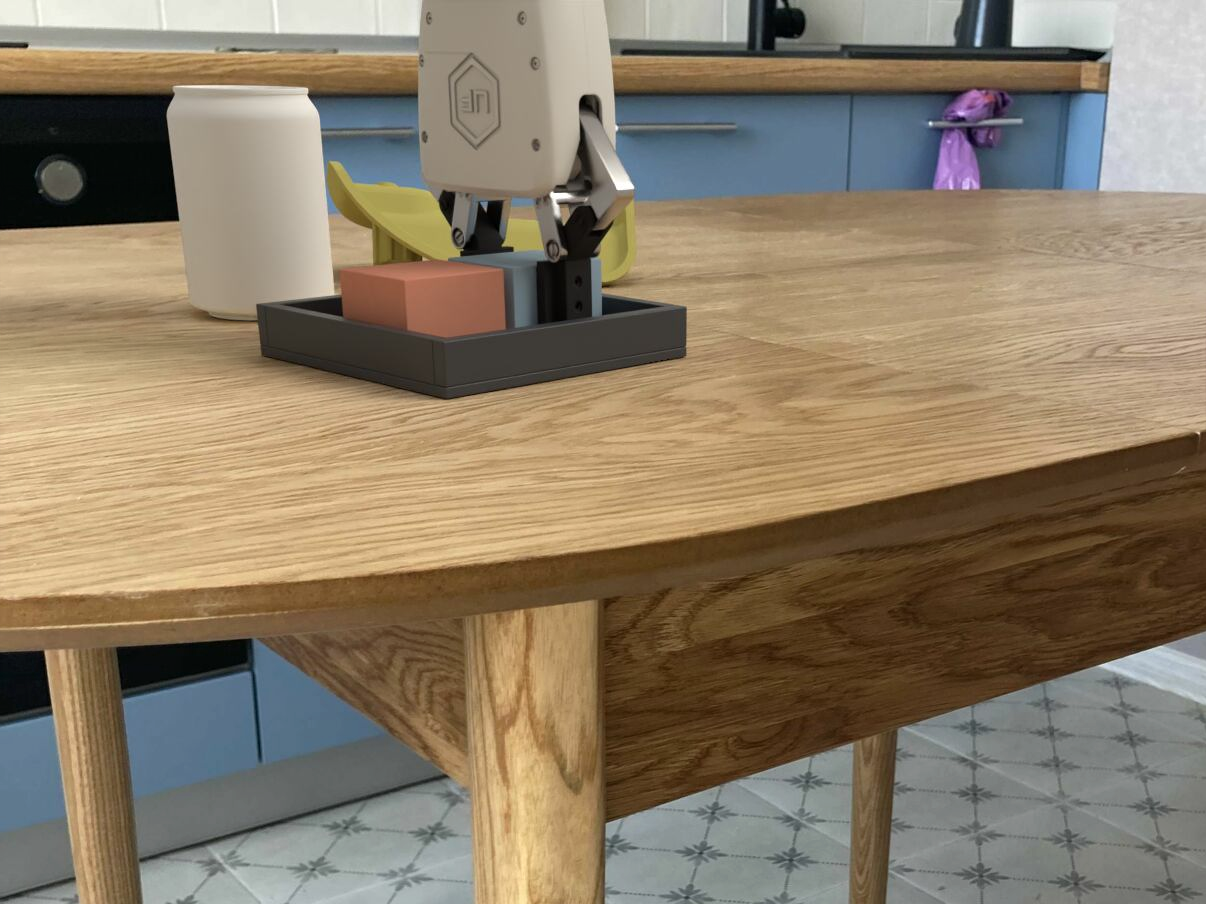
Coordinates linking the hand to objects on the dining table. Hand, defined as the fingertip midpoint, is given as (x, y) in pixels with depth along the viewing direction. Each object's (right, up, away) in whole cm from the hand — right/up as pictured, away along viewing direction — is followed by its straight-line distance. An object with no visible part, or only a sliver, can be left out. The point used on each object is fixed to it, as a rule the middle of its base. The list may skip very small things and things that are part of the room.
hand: (527, 330), depth 80 cm
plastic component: (-6, +11, +26) cm, 28 cm away
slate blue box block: (0, 0, 0) cm, 0 cm away
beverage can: (-17, +3, +10) cm, 19 cm away
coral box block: (-4, -2, -4) cm, 7 cm away
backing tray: (-2, -2, -2) cm, 4 cm away
